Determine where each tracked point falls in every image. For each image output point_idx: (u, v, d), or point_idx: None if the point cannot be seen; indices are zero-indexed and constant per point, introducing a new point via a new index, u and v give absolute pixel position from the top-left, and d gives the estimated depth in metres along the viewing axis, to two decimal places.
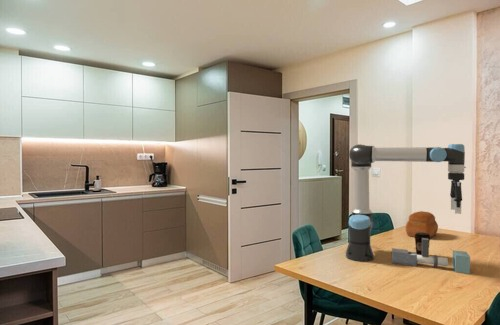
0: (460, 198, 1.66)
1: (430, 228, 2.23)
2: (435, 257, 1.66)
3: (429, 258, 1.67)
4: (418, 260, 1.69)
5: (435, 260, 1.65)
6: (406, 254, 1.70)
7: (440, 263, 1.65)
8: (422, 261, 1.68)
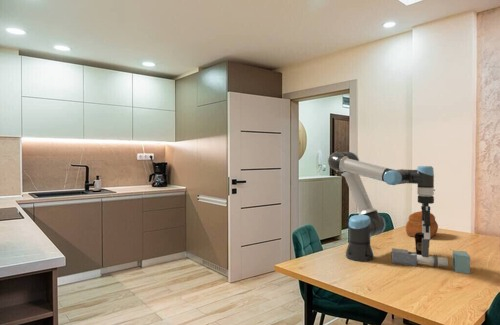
0: (428, 223, 1.60)
1: (430, 228, 2.23)
2: (435, 257, 1.66)
3: (429, 258, 1.67)
4: (418, 260, 1.69)
5: (435, 260, 1.65)
6: (406, 254, 1.70)
7: (440, 263, 1.65)
8: (422, 261, 1.68)
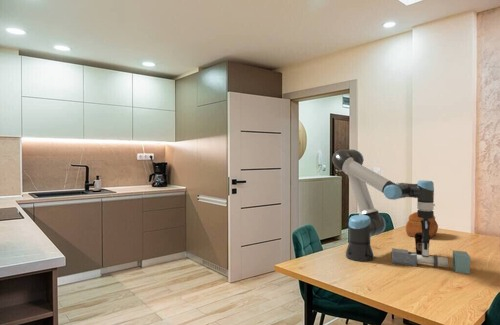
0: (427, 241, 1.64)
1: (430, 228, 2.23)
2: (435, 257, 1.66)
3: (429, 258, 1.67)
4: (418, 260, 1.69)
5: (435, 260, 1.65)
6: (406, 254, 1.70)
7: (440, 263, 1.65)
8: (422, 261, 1.68)
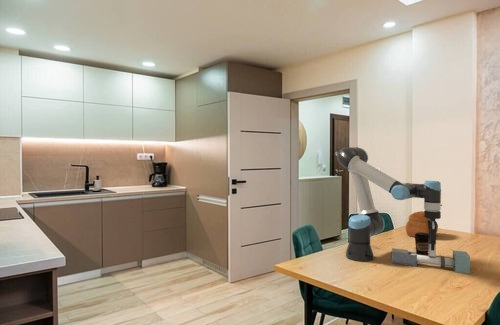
0: (434, 242, 1.63)
1: None
2: (442, 258, 1.65)
3: (436, 259, 1.66)
4: (425, 261, 1.68)
5: (442, 261, 1.64)
6: (406, 254, 1.70)
7: (447, 264, 1.64)
8: (429, 262, 1.67)
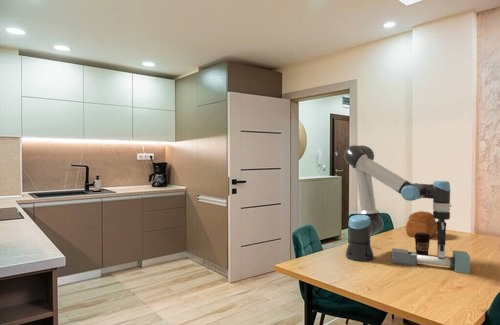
0: (443, 243, 1.61)
1: (430, 228, 2.23)
2: (451, 259, 1.63)
3: (445, 260, 1.64)
4: (434, 262, 1.66)
5: (452, 262, 1.62)
6: (406, 254, 1.70)
7: None
8: (438, 263, 1.65)
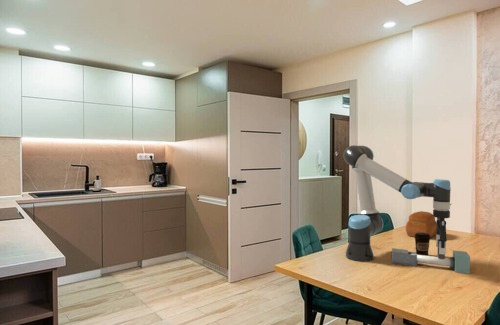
0: (444, 239, 1.57)
1: (430, 228, 2.23)
2: (452, 259, 1.63)
3: (445, 260, 1.64)
4: (434, 262, 1.66)
5: (452, 262, 1.62)
6: (406, 254, 1.70)
7: None
8: (438, 263, 1.65)
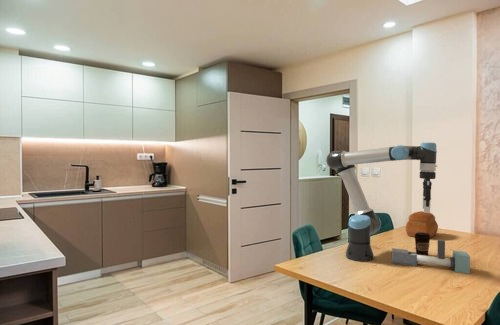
0: (429, 197, 1.64)
1: (430, 228, 2.23)
2: (452, 259, 1.63)
3: (445, 260, 1.64)
4: (434, 262, 1.66)
5: (452, 262, 1.62)
6: (406, 254, 1.70)
7: None
8: (438, 263, 1.65)
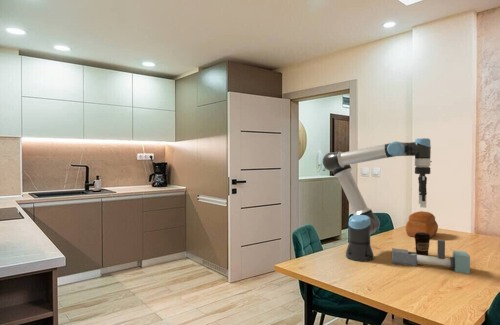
0: (425, 192, 1.66)
1: (430, 228, 2.23)
2: (452, 259, 1.63)
3: (445, 260, 1.64)
4: (434, 262, 1.66)
5: (452, 262, 1.62)
6: (406, 254, 1.70)
7: None
8: (438, 263, 1.65)
